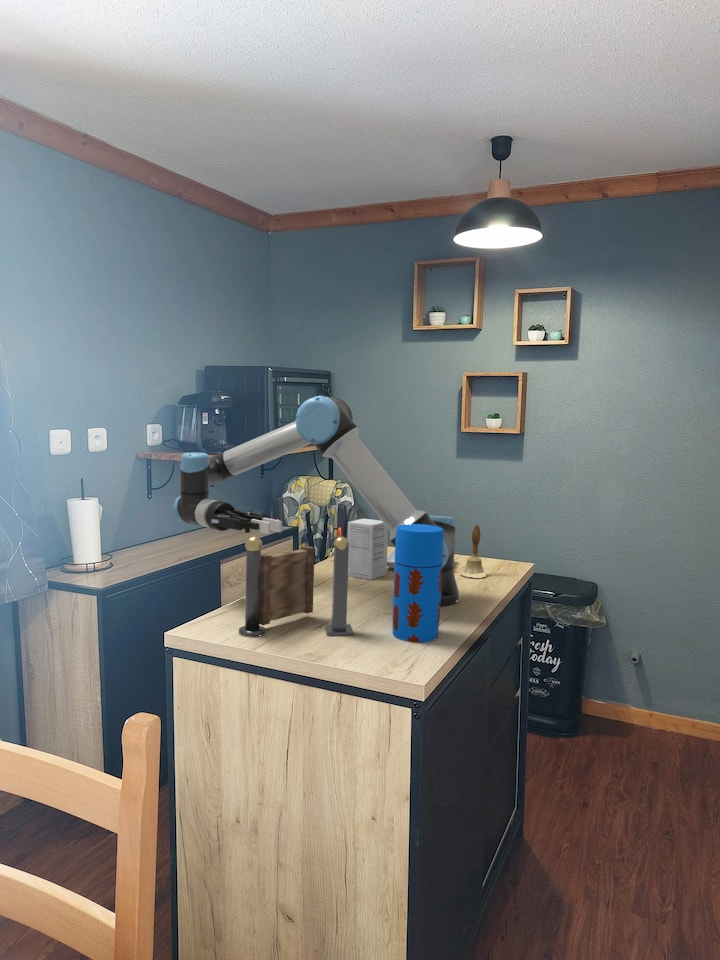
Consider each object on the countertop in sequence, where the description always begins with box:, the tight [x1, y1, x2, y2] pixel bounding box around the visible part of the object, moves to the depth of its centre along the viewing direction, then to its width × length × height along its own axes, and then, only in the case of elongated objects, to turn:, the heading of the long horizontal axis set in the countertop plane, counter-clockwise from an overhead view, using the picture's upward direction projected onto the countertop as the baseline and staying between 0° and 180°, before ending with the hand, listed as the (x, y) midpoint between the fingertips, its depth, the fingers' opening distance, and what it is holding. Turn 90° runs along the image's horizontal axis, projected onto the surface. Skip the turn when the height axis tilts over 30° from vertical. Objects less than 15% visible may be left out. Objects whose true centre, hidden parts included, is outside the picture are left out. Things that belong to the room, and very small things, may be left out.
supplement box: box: [347, 518, 389, 581], centre depth 219 cm, size 10×9×17 cm
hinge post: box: [238, 535, 267, 637], centre depth 162 cm, size 6×6×22 cm
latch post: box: [324, 536, 354, 637], centre depth 164 cm, size 6×6×22 cm
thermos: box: [391, 524, 444, 643], centre depth 164 cm, size 11×11×25 cm
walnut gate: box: [259, 545, 316, 626], centre depth 169 cm, size 16×2×16 cm, turn 138°
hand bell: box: [462, 524, 485, 574], centre depth 224 cm, size 8×8×16 cm
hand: (275, 527), depth 174 cm, fingers open, 3 cm apart
